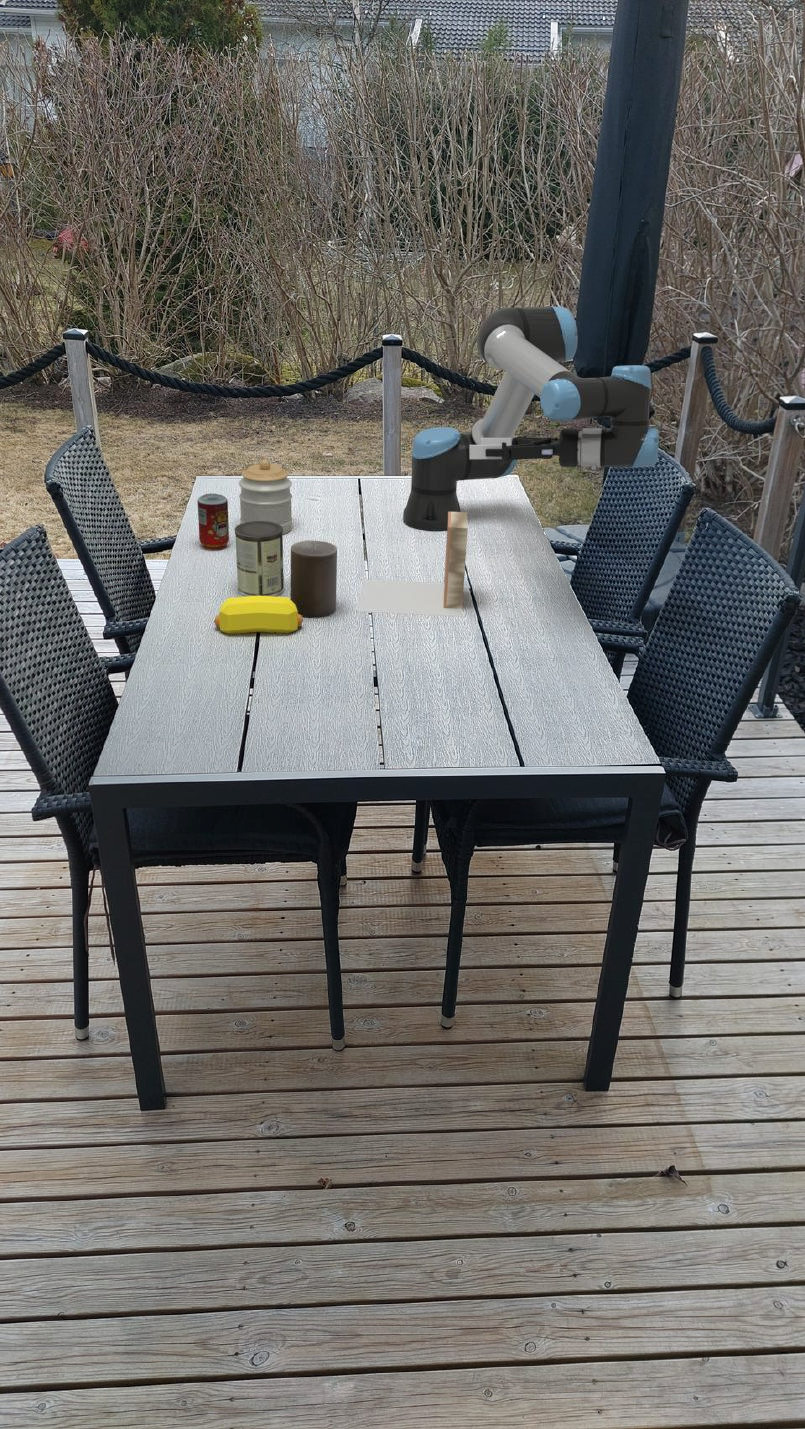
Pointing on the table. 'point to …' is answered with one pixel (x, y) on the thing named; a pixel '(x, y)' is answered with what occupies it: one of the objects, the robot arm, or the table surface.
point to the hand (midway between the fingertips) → (475, 448)
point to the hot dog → (258, 615)
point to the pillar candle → (314, 578)
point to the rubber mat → (404, 598)
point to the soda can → (213, 521)
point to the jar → (266, 495)
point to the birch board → (455, 559)
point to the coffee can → (259, 558)
